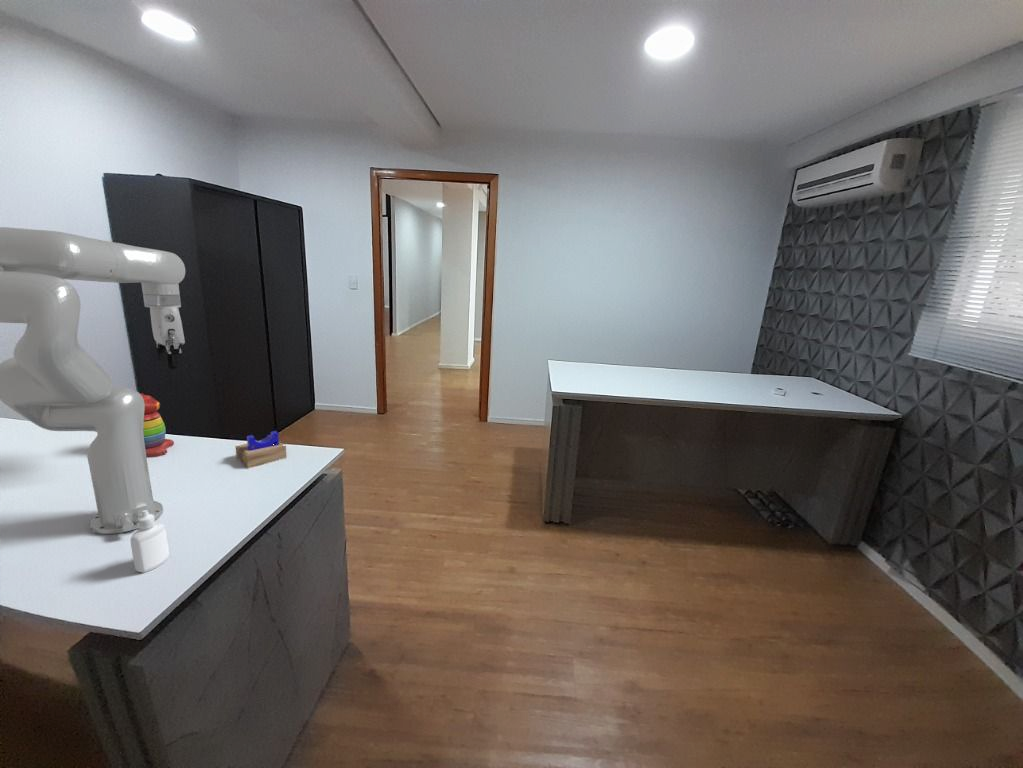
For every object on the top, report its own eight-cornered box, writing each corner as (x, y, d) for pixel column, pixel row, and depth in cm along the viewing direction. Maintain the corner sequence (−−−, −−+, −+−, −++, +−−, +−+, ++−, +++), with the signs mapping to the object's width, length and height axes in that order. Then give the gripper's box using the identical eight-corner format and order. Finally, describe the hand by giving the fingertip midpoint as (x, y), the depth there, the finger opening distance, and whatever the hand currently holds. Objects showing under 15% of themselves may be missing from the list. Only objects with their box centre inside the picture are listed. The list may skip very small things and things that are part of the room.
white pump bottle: (173, 563, 87) (165, 510, 84) (137, 576, 83) (127, 521, 80) (168, 552, 90) (160, 501, 87) (132, 565, 86) (123, 511, 83)
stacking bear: (164, 456, 130) (156, 400, 126) (121, 459, 126) (112, 401, 122) (176, 442, 140) (169, 389, 135) (136, 445, 136) (128, 390, 131)
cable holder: (275, 441, 137) (274, 429, 136) (278, 444, 134) (278, 432, 133) (246, 446, 131) (245, 434, 130) (249, 450, 129) (248, 438, 128)
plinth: (286, 457, 135) (285, 445, 134) (248, 468, 127) (246, 455, 126) (274, 448, 141) (273, 436, 140) (236, 458, 132) (235, 445, 131)
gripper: (190, 304, 111) (197, 369, 115) (170, 297, 121) (178, 357, 126) (152, 304, 105) (162, 373, 109) (136, 297, 115) (145, 360, 120)
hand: (170, 364), depth 117 cm, fingers open, 9 cm apart
